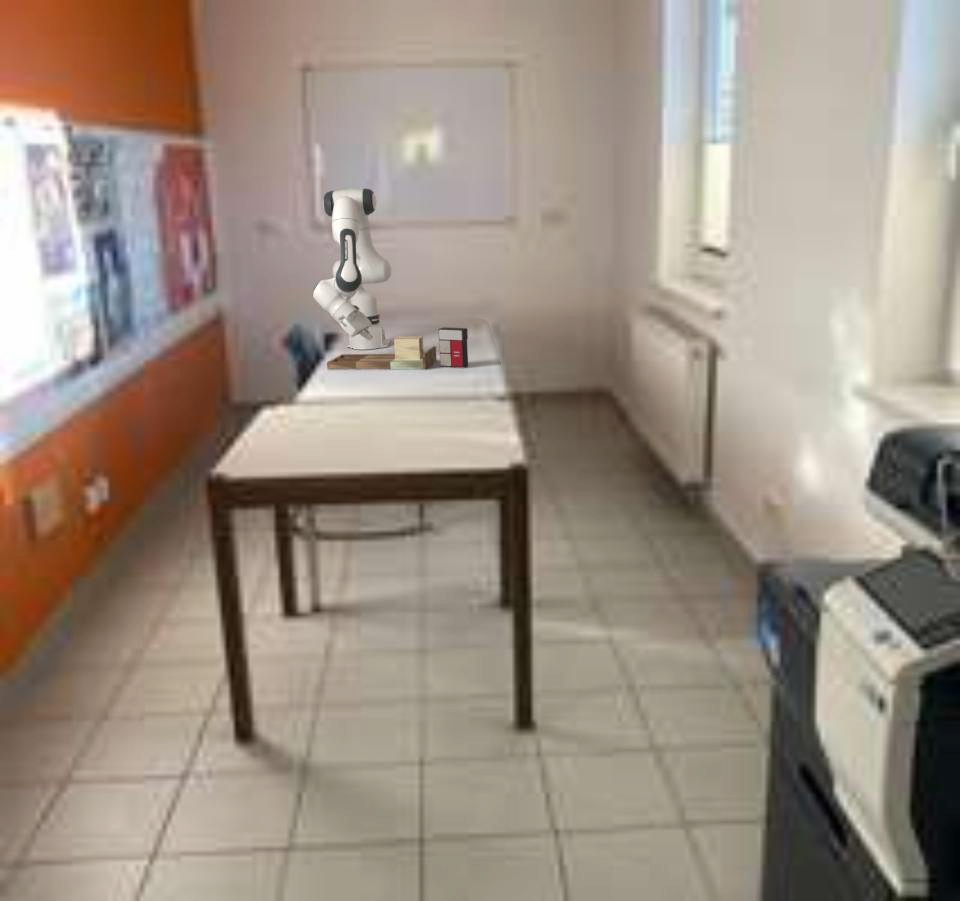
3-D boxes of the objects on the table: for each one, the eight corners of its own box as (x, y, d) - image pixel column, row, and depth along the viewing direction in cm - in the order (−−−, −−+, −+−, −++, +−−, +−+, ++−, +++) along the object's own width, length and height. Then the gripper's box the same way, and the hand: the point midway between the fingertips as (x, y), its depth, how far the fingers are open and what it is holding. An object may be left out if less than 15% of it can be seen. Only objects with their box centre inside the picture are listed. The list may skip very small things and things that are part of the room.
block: (399, 356, 396) (398, 336, 394) (423, 356, 394) (422, 336, 392) (395, 359, 390) (394, 339, 388) (419, 359, 388) (418, 339, 386)
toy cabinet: (439, 367, 388) (437, 328, 384) (444, 365, 391) (442, 327, 387) (463, 368, 383) (462, 329, 379) (469, 366, 386) (467, 328, 382)
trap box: (342, 361, 408) (341, 347, 407) (436, 361, 400) (435, 346, 399) (327, 369, 391) (326, 354, 390) (425, 369, 383) (424, 354, 382)
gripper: (342, 312, 382) (368, 337, 383) (358, 305, 402) (383, 329, 402) (332, 324, 384) (358, 349, 385) (348, 316, 404) (373, 340, 404)
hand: (371, 338), depth 394 cm, fingers closed
